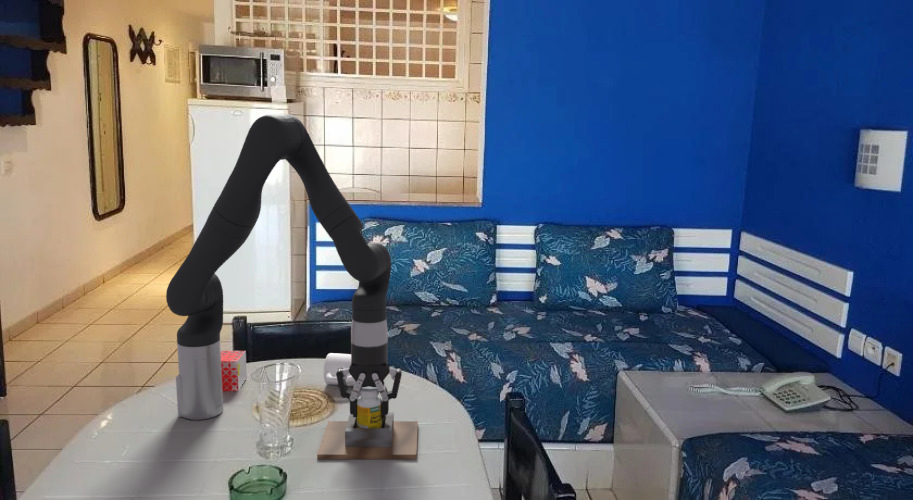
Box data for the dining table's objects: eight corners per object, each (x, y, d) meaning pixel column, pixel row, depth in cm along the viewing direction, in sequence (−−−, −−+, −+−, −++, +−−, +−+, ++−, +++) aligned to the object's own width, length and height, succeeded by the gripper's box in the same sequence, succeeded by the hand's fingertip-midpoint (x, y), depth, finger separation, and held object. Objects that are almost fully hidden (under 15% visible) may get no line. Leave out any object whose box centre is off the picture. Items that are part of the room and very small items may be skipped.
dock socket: (317, 459, 146) (316, 438, 145) (328, 425, 162) (328, 406, 161) (416, 459, 147) (416, 438, 146) (417, 425, 162) (417, 406, 162)
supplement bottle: (367, 423, 157) (367, 381, 156) (387, 429, 155) (387, 387, 153) (351, 432, 153) (351, 389, 151) (371, 438, 150) (371, 395, 148)
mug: (333, 377, 191) (332, 348, 189) (369, 380, 190) (369, 351, 188) (318, 394, 179) (317, 364, 178) (357, 397, 178) (357, 366, 176)
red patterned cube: (238, 391, 180) (237, 361, 179) (206, 391, 180) (205, 361, 179) (246, 379, 188) (245, 350, 187) (216, 379, 188) (214, 350, 187)
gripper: (332, 344, 146) (333, 423, 149) (403, 345, 147) (402, 423, 150) (336, 333, 153) (337, 408, 157) (404, 334, 154) (404, 409, 157)
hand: (369, 415), depth 153 cm, fingers closed on supplement bottle, 5 cm apart
